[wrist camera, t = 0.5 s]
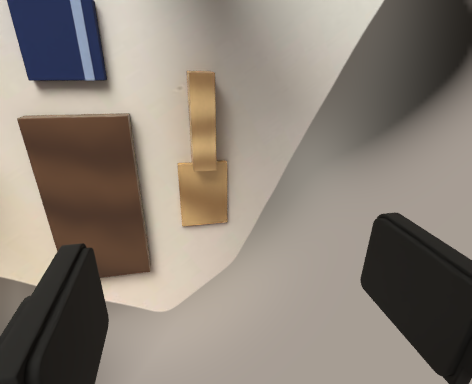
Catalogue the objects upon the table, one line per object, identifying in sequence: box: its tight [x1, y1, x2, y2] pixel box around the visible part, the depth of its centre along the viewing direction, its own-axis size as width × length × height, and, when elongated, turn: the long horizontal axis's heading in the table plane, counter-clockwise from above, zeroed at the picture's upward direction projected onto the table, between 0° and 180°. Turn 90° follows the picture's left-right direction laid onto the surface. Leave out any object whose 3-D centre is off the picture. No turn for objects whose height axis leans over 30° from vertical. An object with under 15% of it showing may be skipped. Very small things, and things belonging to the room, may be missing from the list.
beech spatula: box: [178, 71, 227, 226], centre depth 39 cm, size 22×7×4 cm, turn 179°
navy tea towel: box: [7, 0, 107, 80], centre depth 32 cm, size 8×8×1 cm
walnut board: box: [17, 113, 151, 278], centre depth 40 cm, size 24×12×2 cm, turn 179°
